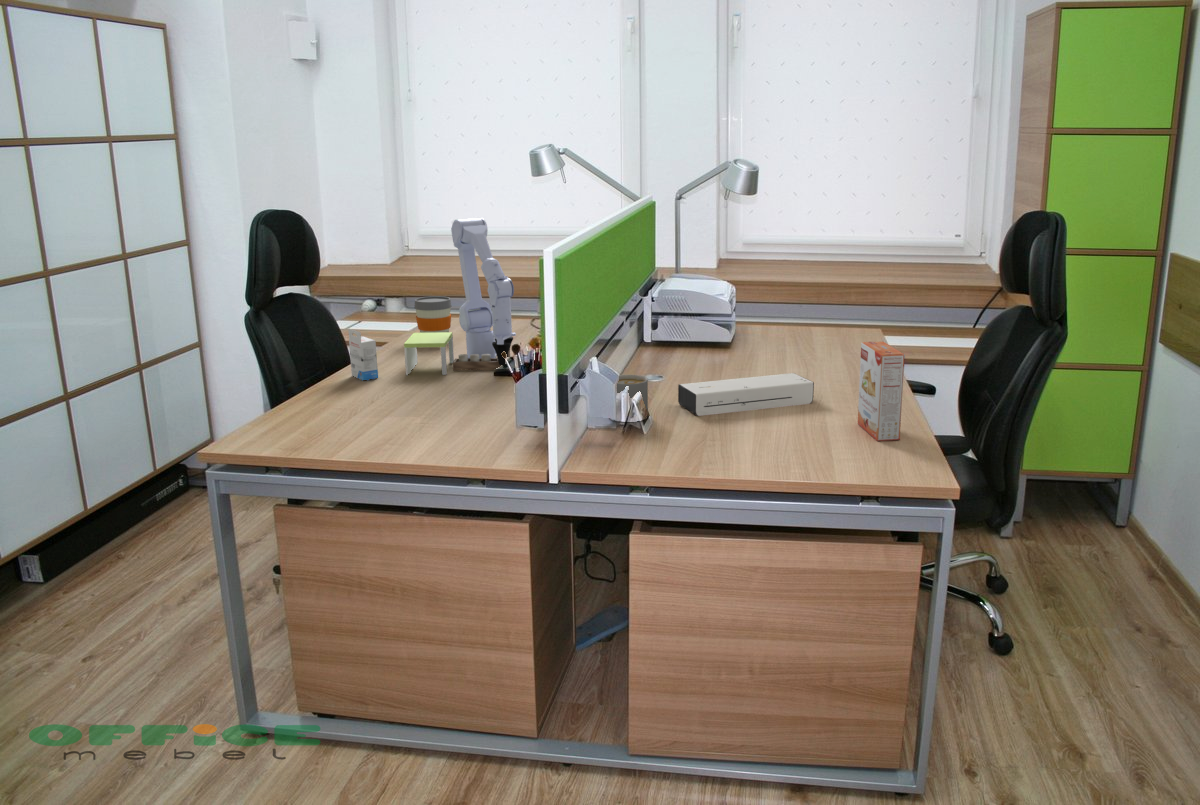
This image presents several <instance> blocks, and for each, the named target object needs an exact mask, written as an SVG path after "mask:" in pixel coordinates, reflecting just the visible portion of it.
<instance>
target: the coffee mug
mask: <svg viewBox="0 0 1200 805" xmlns="http://www.w3.org/2000/svg"><path fill="white" fill-rule="evenodd" d="M648 379H649V378H647V377H646V376H643V375H639V374H619V381H618V383H617V393H620V392H621V391H623V390H624V389H625V387H626V386H629V390H628V393H629V396H630V398H632V397H633V396H634V395H635V394H636V393H637V392H639V391H640V392H641V394H642V397H643V401H644V404H645V406H646V409H647V411H648V410H649V406H648V405H649V403H648V402H649V400H648V394H649V392H648V391H649V390H648V387H649V386H648V385H649V384H648V383H649V382H648ZM648 412H649V411H648Z"/></svg>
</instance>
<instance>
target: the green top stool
mask: <svg viewBox="0 0 1200 805" xmlns="http://www.w3.org/2000/svg"><path fill="white" fill-rule="evenodd" d="M453 338H454V335H453V332H452V331H449V332H438V333H420V332H413V333H412V334H411V335H410V336H409V337H408V339H407V340H406V341H405V342H404V343H403V350H404V364H405V365H404V366H405V375H406V376H409V375H410V374H411V372H412V371H413V370H412V369H414V368H415V367H416V366H415V365H417V364H418V350H417V348H440V356H441V358H440V359H441V361H440V362H441V374H442V376H444V375H445V376H446V375H447V374H448V370H447V352H446V351H447V350H446V349H447V348H446V346H447V345H448V358H449V360H448V361H449V364H453V361H454V360H455V356H454V341H453ZM411 370H412V371H411ZM408 374H409V375H408Z"/></svg>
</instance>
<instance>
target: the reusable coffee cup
mask: <svg viewBox="0 0 1200 805" xmlns="http://www.w3.org/2000/svg"><path fill="white" fill-rule="evenodd" d="M451 308H452V301H451V297H448V296H443V295H442V296H438V295H437V296H436V295H434V296H433V295H431V296H423V297H418V298H415V299H414V309H415V313H416V316H415V319H416V324H417V329H418V330H419V333H438V332H450V328H451V325H452V324H451V323H452V314H451Z"/></svg>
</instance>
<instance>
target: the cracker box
mask: <svg viewBox="0 0 1200 805" xmlns="http://www.w3.org/2000/svg"><path fill="white" fill-rule="evenodd" d="M860 344H861V345H860V363H859V364H860V365H859V385H858V406H857V407H858V408H857V424H858V425H859V426H860V427H861V428H862V429H863V430H864V431H866V433H868V435H870V436H871V437H873V439H874V440H876V442H885V441H886V442H887V441H900V439H901V425H902V410H903V409H902V407H903V394H904V393H903V392H904V391H903V388H904V377H905V376H904V375H905V373H904V372H905V360H906V359H905V358H906V354H905V353H902V352H901V351H900V350H898V349H896V348H895V347H893V346H892V345H890V344H889V343H887V342H885V341H862V342H860Z"/></svg>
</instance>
